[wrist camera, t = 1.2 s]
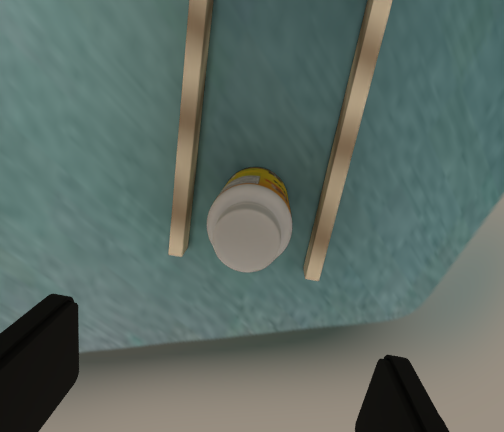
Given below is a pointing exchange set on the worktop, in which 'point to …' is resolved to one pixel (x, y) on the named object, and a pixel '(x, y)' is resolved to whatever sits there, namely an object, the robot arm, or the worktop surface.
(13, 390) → the robot arm
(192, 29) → the wooden frame
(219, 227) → the supplement bottle
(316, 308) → the worktop surface
